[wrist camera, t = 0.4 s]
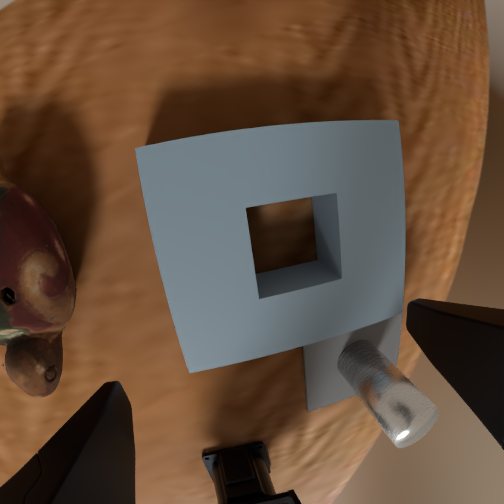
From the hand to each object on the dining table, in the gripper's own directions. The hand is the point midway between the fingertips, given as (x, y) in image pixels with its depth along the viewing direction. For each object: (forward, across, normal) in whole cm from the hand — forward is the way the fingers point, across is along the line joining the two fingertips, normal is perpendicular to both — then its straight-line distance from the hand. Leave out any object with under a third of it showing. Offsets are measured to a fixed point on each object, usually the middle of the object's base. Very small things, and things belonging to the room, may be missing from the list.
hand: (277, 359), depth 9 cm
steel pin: (+14, -10, +13) cm, 22 cm away
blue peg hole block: (+14, -4, 0) cm, 14 cm away
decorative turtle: (+14, +14, -2) cm, 20 cm away
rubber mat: (+14, -10, +13) cm, 22 cm away
